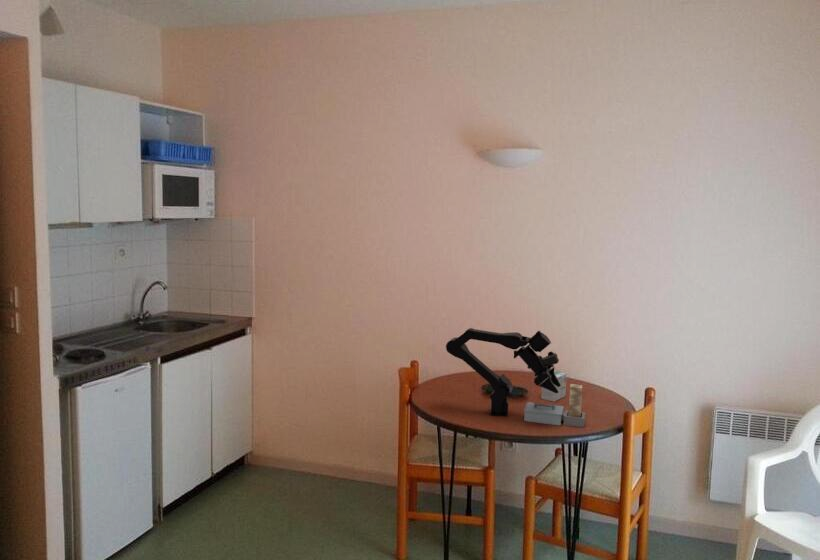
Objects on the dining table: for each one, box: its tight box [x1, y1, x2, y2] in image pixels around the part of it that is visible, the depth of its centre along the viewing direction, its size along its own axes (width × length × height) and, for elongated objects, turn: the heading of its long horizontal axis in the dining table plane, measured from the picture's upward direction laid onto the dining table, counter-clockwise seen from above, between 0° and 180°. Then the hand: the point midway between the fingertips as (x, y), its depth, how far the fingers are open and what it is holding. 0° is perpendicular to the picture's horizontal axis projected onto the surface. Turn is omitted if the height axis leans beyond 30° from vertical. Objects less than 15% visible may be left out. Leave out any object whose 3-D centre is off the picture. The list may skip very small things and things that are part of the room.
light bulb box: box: [541, 370, 567, 402], centre depth 289 cm, size 11×7×11 cm, turn 141°
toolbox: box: [523, 401, 586, 428], centre depth 260 cm, size 23×10×6 cm, turn 72°
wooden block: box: [568, 383, 583, 417], centre depth 257 cm, size 4×4×15 cm
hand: (558, 389), depth 258 cm, fingers open, 9 cm apart
